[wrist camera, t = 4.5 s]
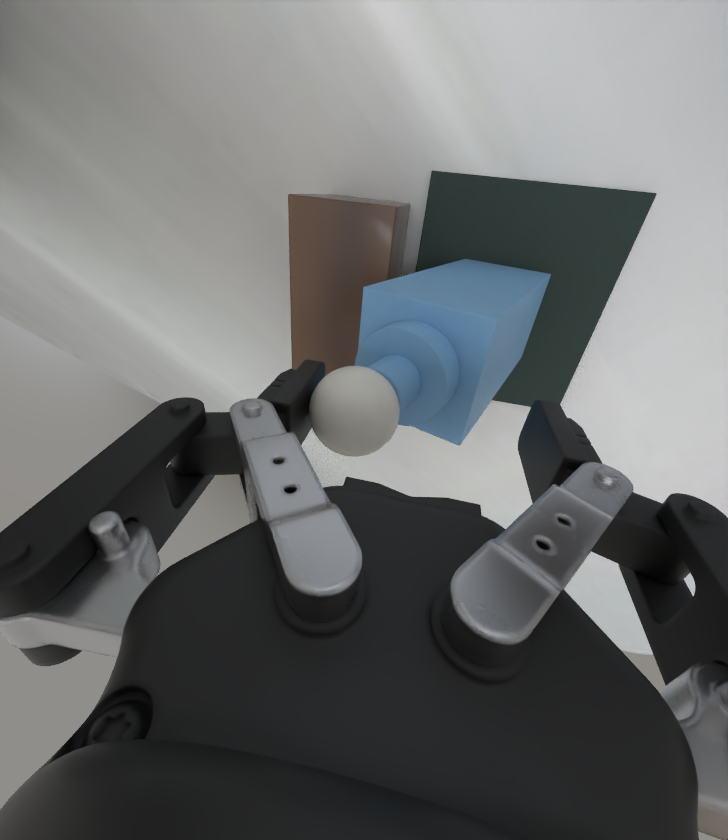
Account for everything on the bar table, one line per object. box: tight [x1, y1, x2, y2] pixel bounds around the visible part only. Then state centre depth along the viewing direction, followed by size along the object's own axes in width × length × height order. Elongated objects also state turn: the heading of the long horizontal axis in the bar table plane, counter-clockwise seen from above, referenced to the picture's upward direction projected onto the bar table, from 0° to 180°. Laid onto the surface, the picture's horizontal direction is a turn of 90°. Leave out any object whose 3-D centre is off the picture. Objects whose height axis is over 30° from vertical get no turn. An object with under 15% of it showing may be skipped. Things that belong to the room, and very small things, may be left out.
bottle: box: [309, 259, 551, 456], centre depth 19 cm, size 14×6×19 cm, turn 85°
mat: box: [416, 171, 656, 407], centre depth 27 cm, size 14×16×1 cm
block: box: [288, 194, 410, 376], centre depth 25 cm, size 6×12×8 cm, turn 175°
